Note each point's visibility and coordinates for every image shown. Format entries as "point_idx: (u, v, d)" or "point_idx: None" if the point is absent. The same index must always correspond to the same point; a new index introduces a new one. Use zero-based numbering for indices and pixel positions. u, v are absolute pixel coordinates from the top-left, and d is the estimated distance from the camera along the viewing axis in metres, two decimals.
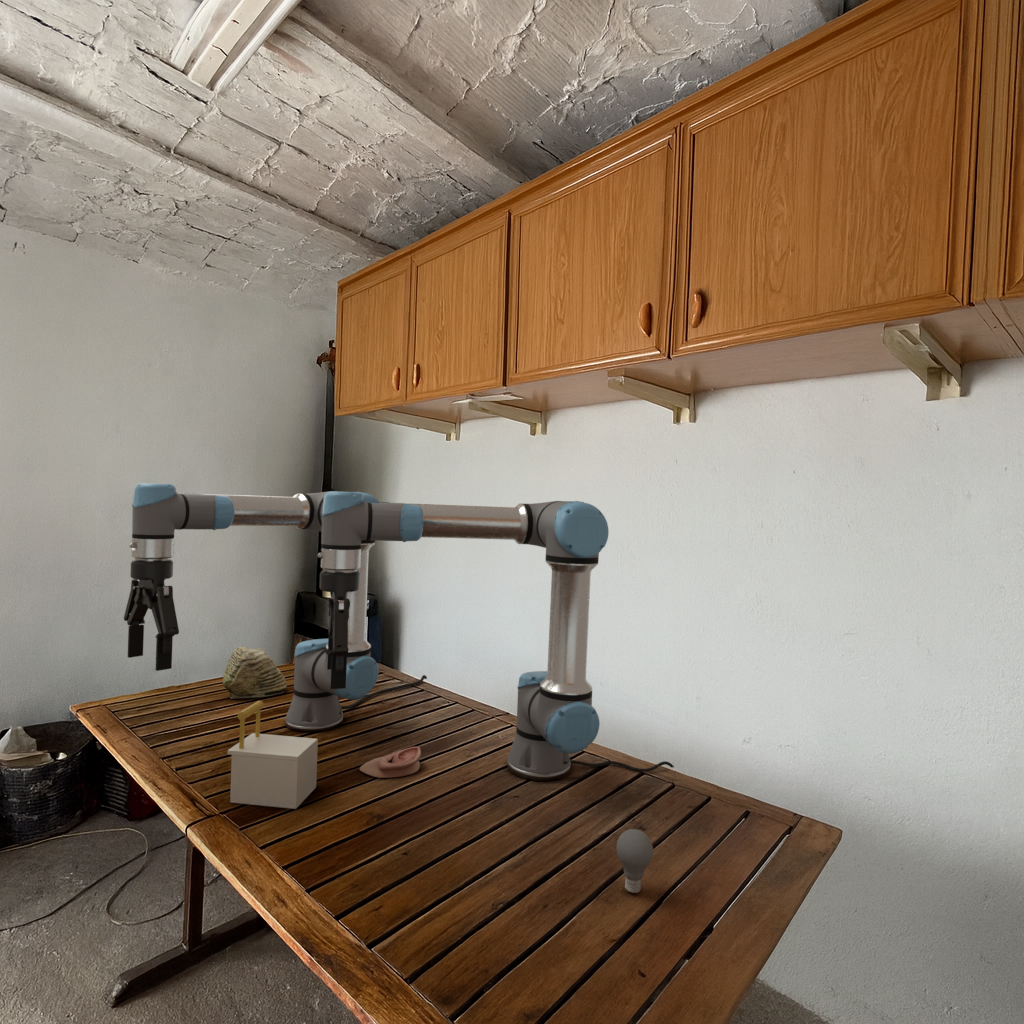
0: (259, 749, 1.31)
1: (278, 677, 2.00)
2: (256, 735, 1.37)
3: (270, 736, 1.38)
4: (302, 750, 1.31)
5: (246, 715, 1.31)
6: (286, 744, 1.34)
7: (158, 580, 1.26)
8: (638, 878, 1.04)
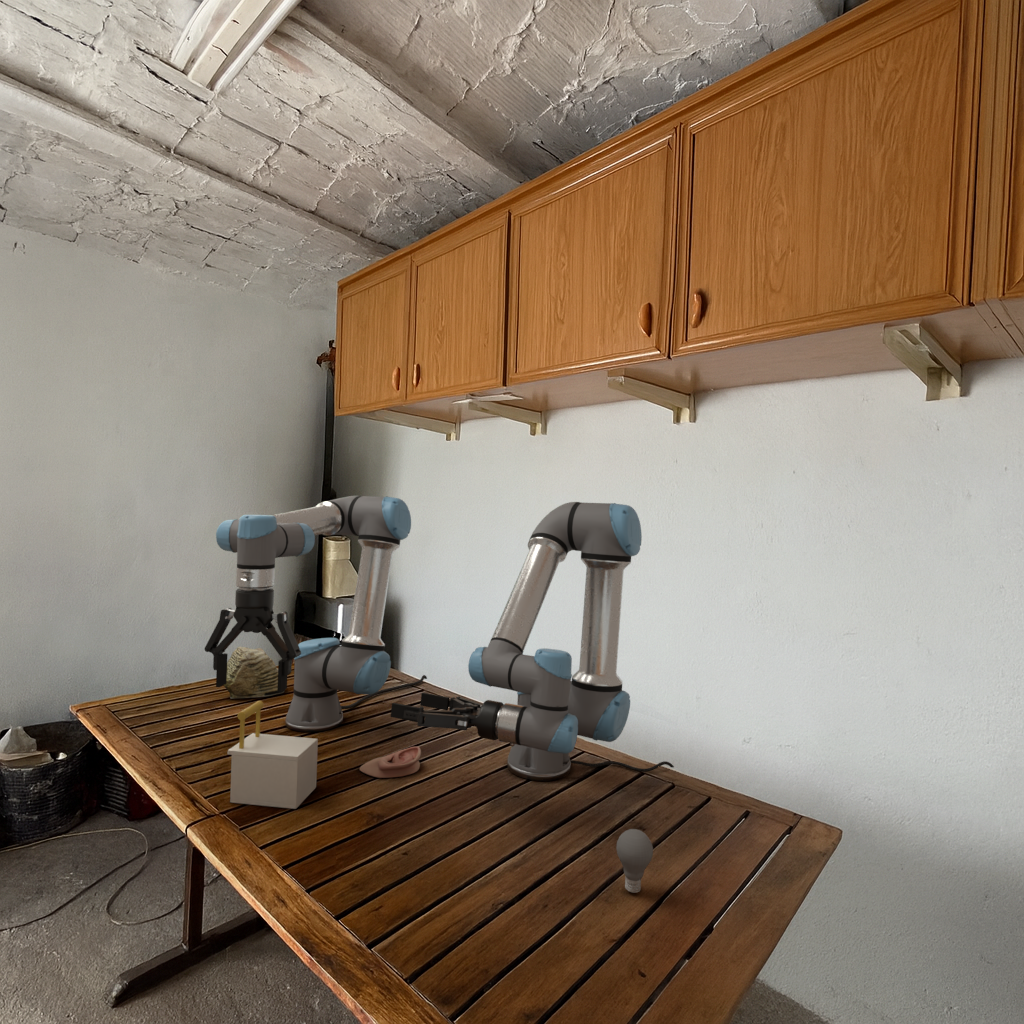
0: (259, 749, 1.31)
1: None
2: (256, 735, 1.37)
3: (270, 736, 1.38)
4: (302, 750, 1.31)
5: (246, 715, 1.31)
6: (286, 744, 1.34)
7: (270, 607, 1.33)
8: (638, 878, 1.04)
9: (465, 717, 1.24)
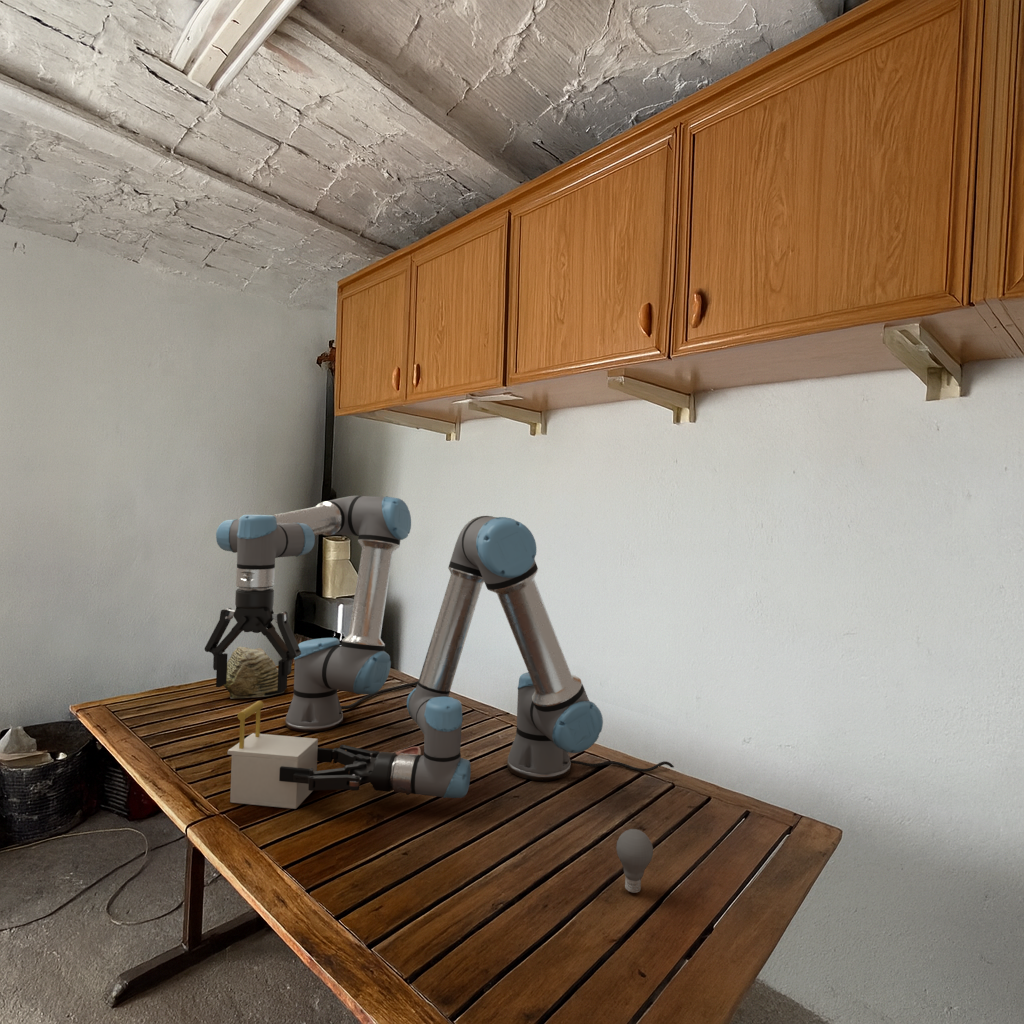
0: (259, 749, 1.31)
1: None
2: (256, 735, 1.37)
3: (270, 736, 1.38)
4: (302, 750, 1.31)
5: (246, 715, 1.31)
6: (286, 744, 1.34)
7: (270, 607, 1.33)
8: (638, 878, 1.04)
9: (356, 778, 1.25)
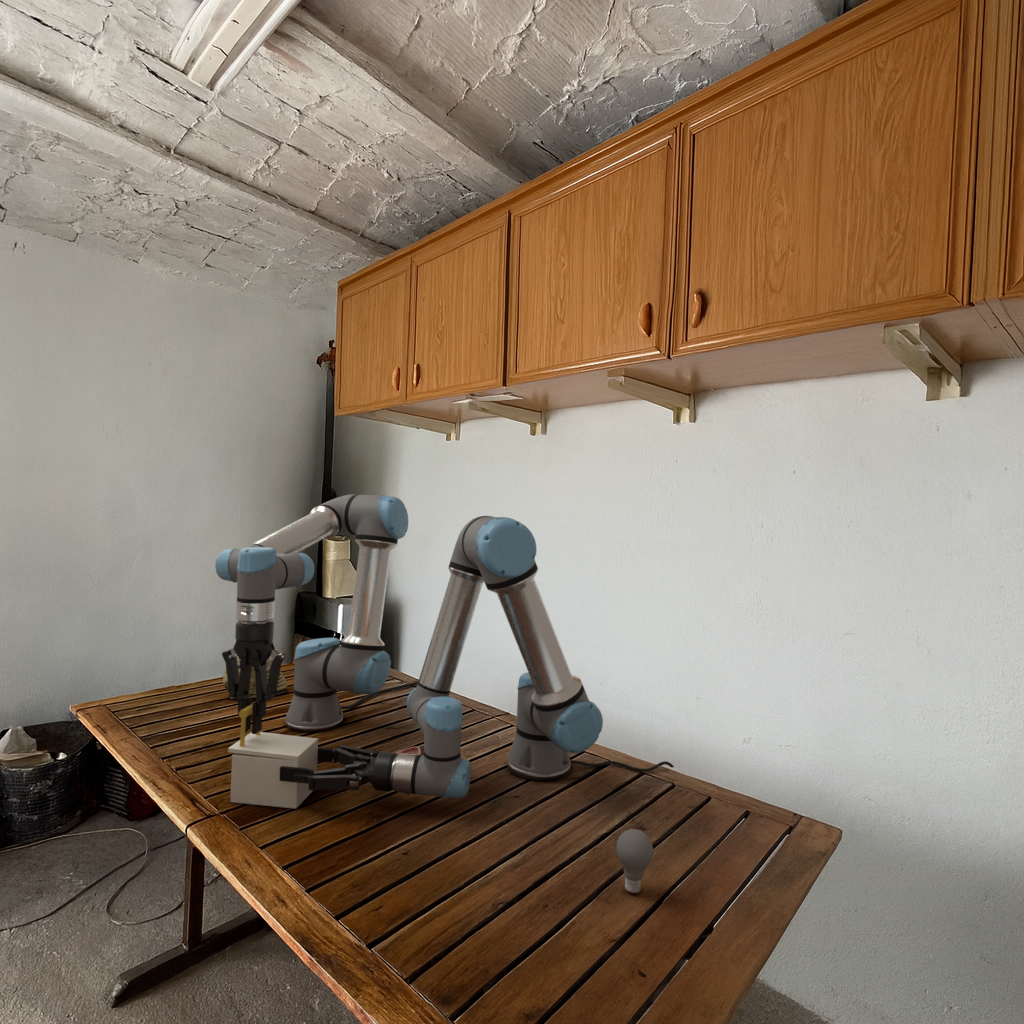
0: (259, 748, 1.31)
1: None
2: (257, 733, 1.37)
3: (270, 735, 1.38)
4: (302, 750, 1.31)
5: (247, 713, 1.31)
6: (286, 743, 1.34)
7: (270, 640, 1.33)
8: (638, 878, 1.04)
9: (356, 777, 1.25)
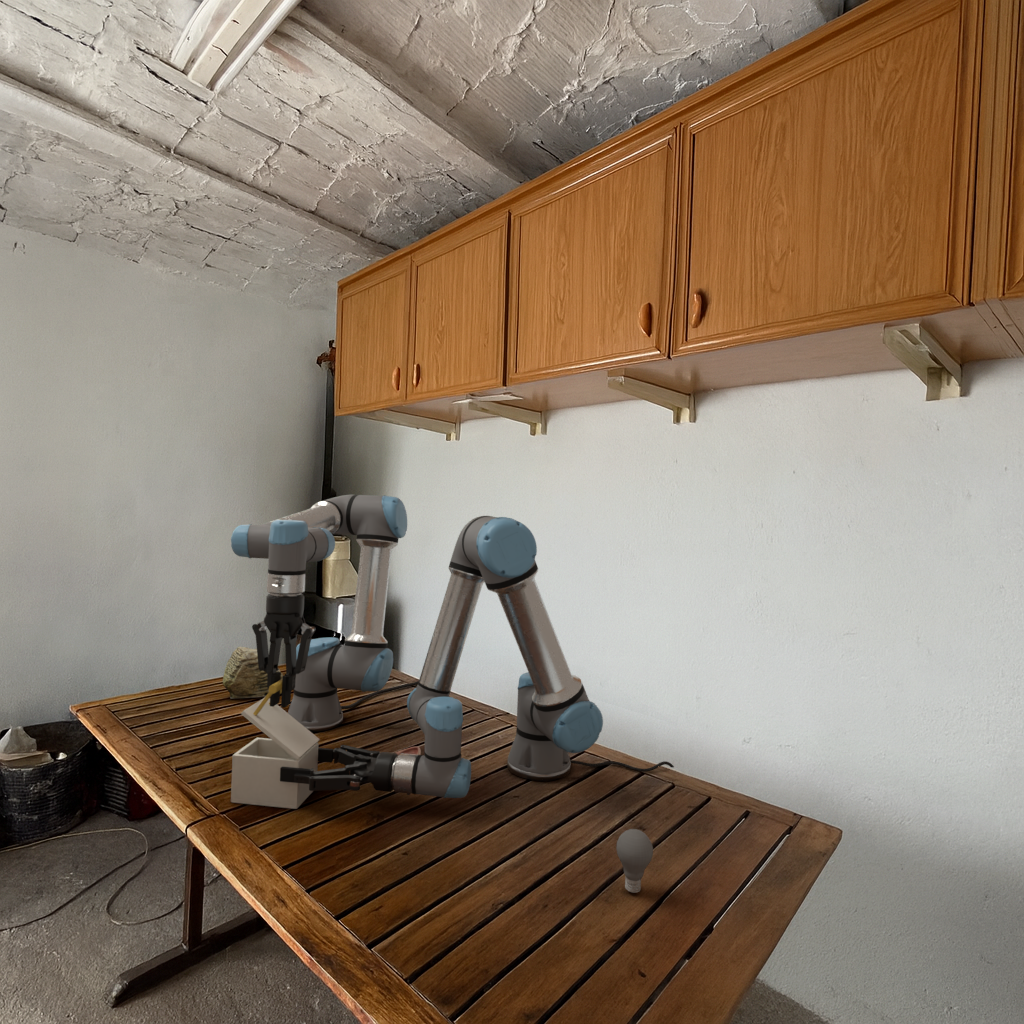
0: (269, 725, 1.30)
1: None
2: None
3: (280, 711, 1.37)
4: (304, 749, 1.31)
5: (277, 691, 1.30)
6: (292, 731, 1.34)
7: (301, 613, 1.32)
8: (638, 878, 1.04)
9: (356, 778, 1.25)
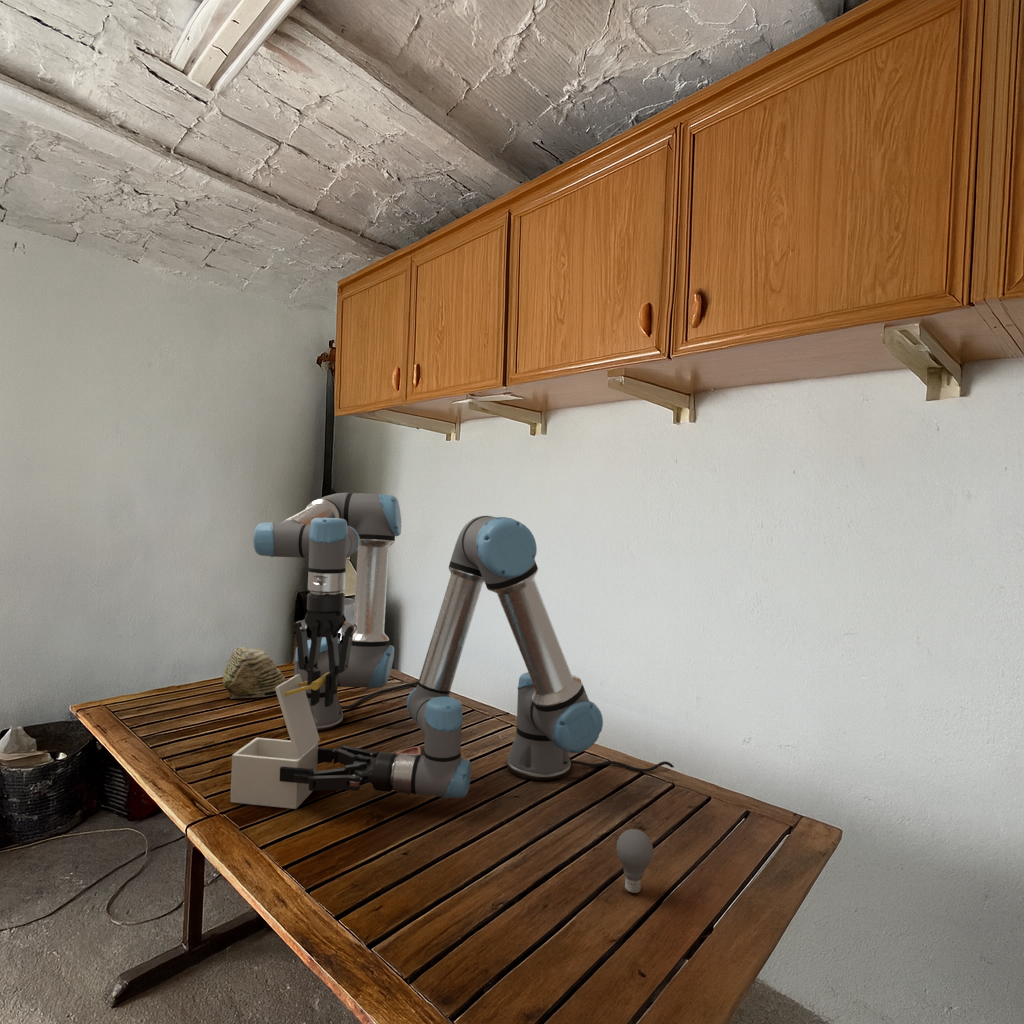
0: (291, 712, 1.30)
1: (278, 677, 2.00)
2: (300, 684, 1.36)
3: (303, 696, 1.37)
4: (306, 750, 1.31)
5: None
6: (304, 724, 1.33)
7: (342, 611, 1.31)
8: (638, 878, 1.04)
9: (356, 778, 1.25)
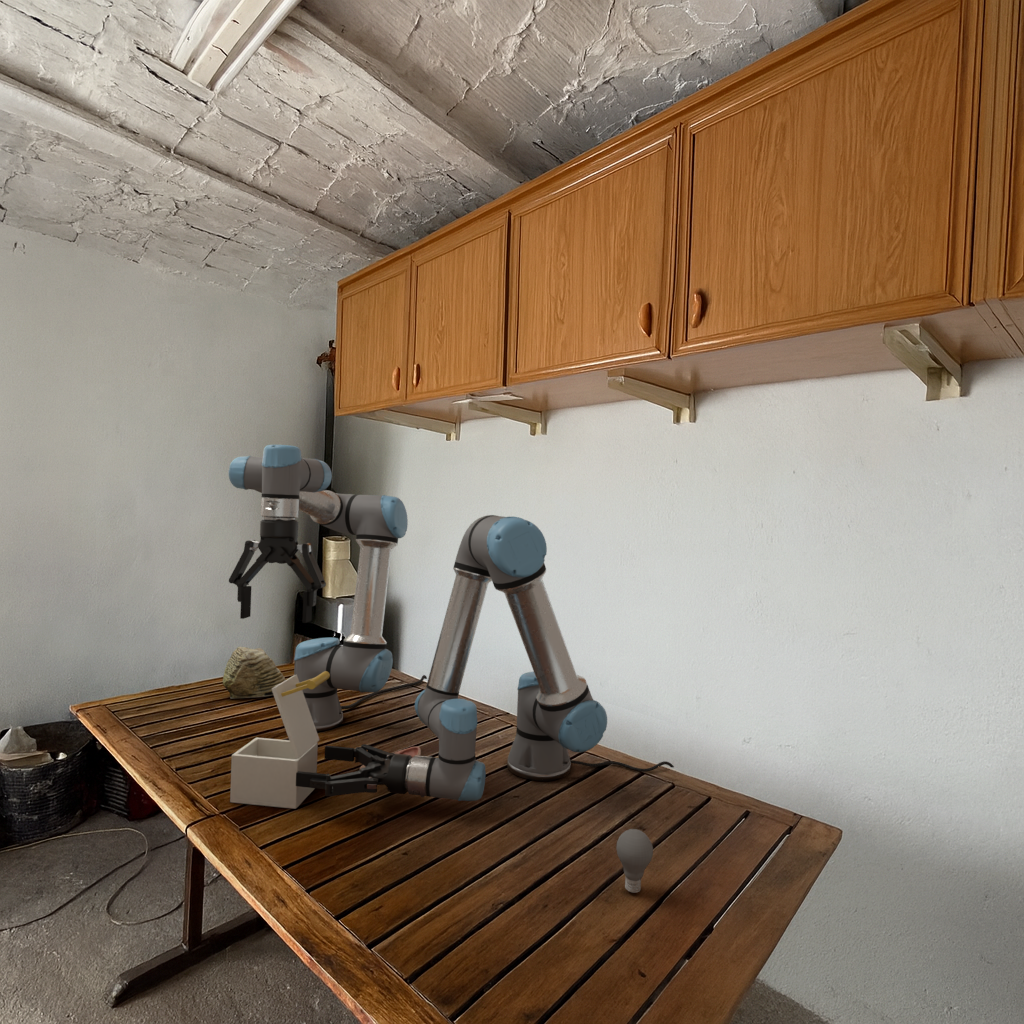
0: (288, 712, 1.30)
1: (278, 677, 2.00)
2: (297, 685, 1.36)
3: (301, 696, 1.37)
4: (305, 749, 1.31)
5: (313, 688, 1.29)
6: (303, 724, 1.33)
7: (295, 538, 1.32)
8: (638, 878, 1.04)
9: (374, 780, 1.24)
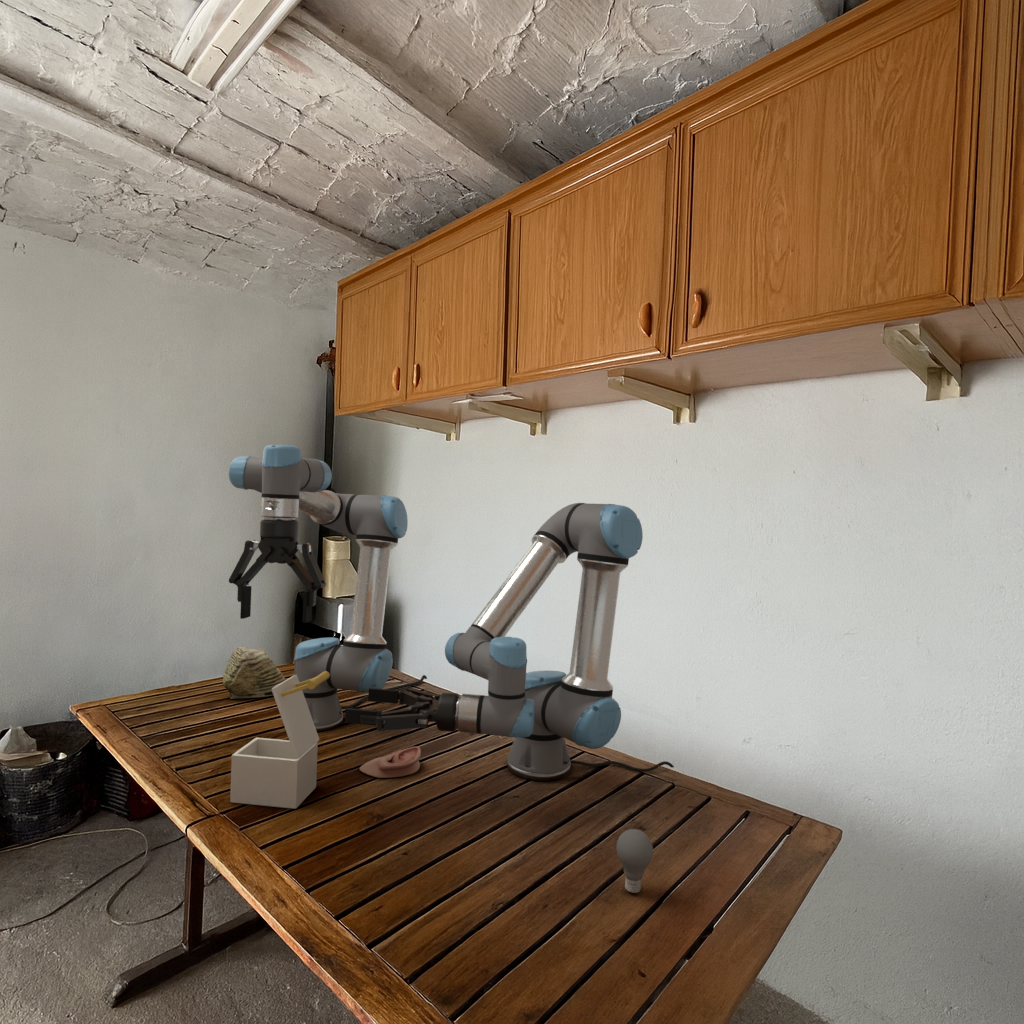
0: (288, 712, 1.30)
1: (278, 677, 2.00)
2: (297, 685, 1.36)
3: (301, 696, 1.37)
4: (305, 749, 1.31)
5: (313, 688, 1.29)
6: (303, 724, 1.33)
7: (295, 538, 1.32)
8: (638, 878, 1.04)
9: (425, 715, 1.23)
